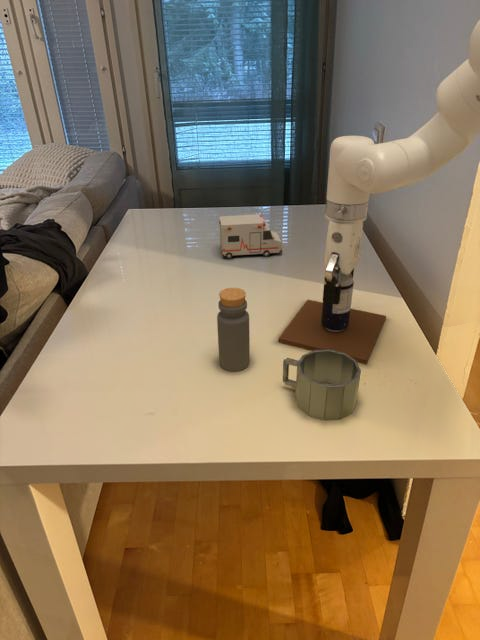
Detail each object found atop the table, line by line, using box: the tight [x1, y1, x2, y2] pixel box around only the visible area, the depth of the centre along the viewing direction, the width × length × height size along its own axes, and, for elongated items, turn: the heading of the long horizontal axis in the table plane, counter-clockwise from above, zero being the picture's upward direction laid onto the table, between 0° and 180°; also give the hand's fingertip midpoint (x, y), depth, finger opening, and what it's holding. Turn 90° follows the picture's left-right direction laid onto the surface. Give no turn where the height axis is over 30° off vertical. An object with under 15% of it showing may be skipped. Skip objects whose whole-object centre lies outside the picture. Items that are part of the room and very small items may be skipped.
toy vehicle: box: [218, 213, 283, 260], centre depth 133 cm, size 10×17×10 cm, turn 97°
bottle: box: [216, 287, 251, 372], centre depth 86 cm, size 6×6×15 cm
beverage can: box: [321, 273, 355, 332], centre depth 95 cm, size 6×6×12 cm
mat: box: [278, 299, 387, 365], centre depth 98 cm, size 18×18×1 cm
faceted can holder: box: [282, 349, 362, 421], centre depth 79 cm, size 13×10×7 cm
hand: (337, 292), depth 94 cm, fingers open, 9 cm apart
